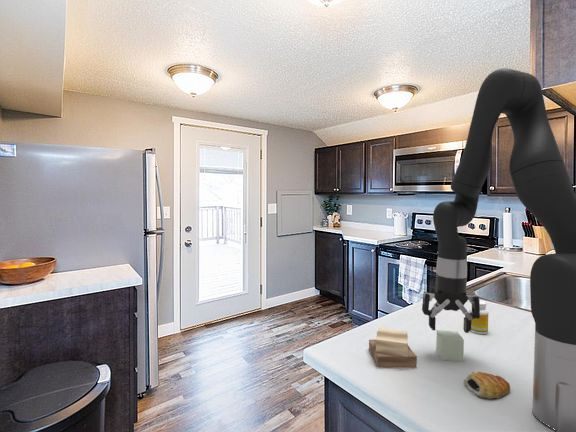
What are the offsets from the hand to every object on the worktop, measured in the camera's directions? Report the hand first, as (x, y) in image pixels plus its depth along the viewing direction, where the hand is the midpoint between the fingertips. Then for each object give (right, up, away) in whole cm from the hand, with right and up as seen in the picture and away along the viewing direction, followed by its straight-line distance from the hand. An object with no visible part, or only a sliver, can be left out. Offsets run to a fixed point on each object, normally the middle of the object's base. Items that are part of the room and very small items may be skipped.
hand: (449, 330), depth 90 cm
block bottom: (-17, -8, -1) cm, 18 cm away
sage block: (0, -7, 0) cm, 7 cm away
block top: (-17, -4, -1) cm, 17 cm away
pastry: (0, -8, -16) cm, 18 cm away
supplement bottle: (+17, -6, +16) cm, 24 cm away
